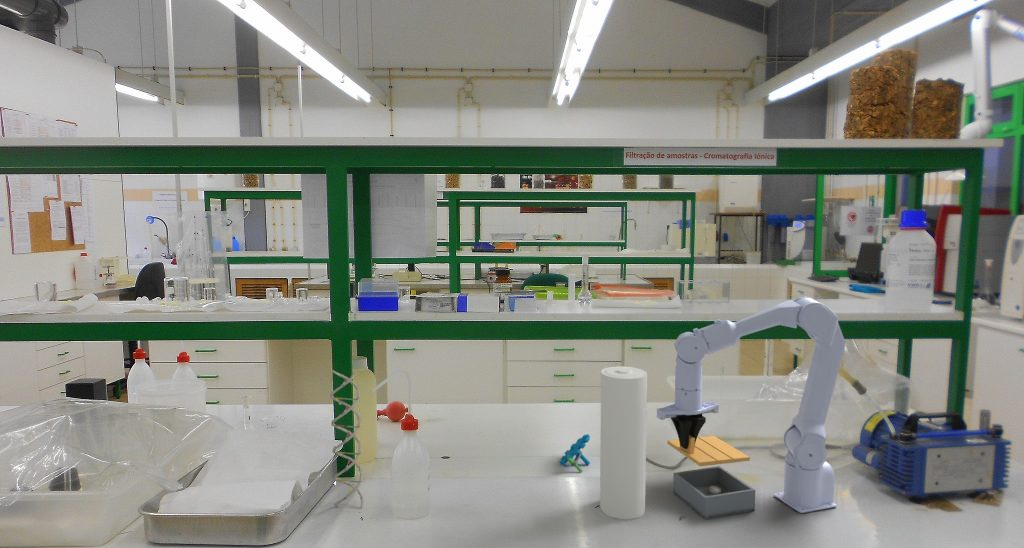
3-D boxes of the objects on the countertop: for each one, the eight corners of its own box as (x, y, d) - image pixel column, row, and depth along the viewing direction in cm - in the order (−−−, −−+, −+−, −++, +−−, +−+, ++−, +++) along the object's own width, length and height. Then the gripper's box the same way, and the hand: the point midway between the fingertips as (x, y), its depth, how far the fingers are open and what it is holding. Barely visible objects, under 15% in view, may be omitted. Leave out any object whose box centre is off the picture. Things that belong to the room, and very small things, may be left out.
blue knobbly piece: (565, 446, 149) (590, 426, 145) (580, 463, 149) (607, 443, 144) (551, 469, 139) (578, 447, 135) (568, 487, 139) (596, 466, 134)
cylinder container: (633, 494, 127) (635, 362, 124) (652, 516, 118) (655, 374, 115) (593, 499, 125) (594, 365, 122) (610, 521, 116) (611, 377, 113)
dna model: (370, 501, 125) (365, 367, 122) (356, 516, 119) (351, 375, 116) (342, 498, 126) (336, 366, 123) (327, 513, 120) (321, 374, 117)
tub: (719, 484, 131) (719, 466, 131) (754, 510, 120) (755, 490, 119) (673, 492, 128) (673, 472, 127) (704, 519, 116) (705, 498, 116)
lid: (713, 441, 137) (714, 421, 136) (749, 463, 125) (750, 441, 124) (667, 446, 133) (668, 425, 132) (699, 469, 121) (700, 446, 120)
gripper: (705, 379, 132) (704, 436, 133) (649, 385, 127) (648, 443, 129) (725, 388, 125) (723, 448, 126) (667, 394, 121) (665, 456, 122)
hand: (687, 446), depth 127 cm, fingers closed on lid
